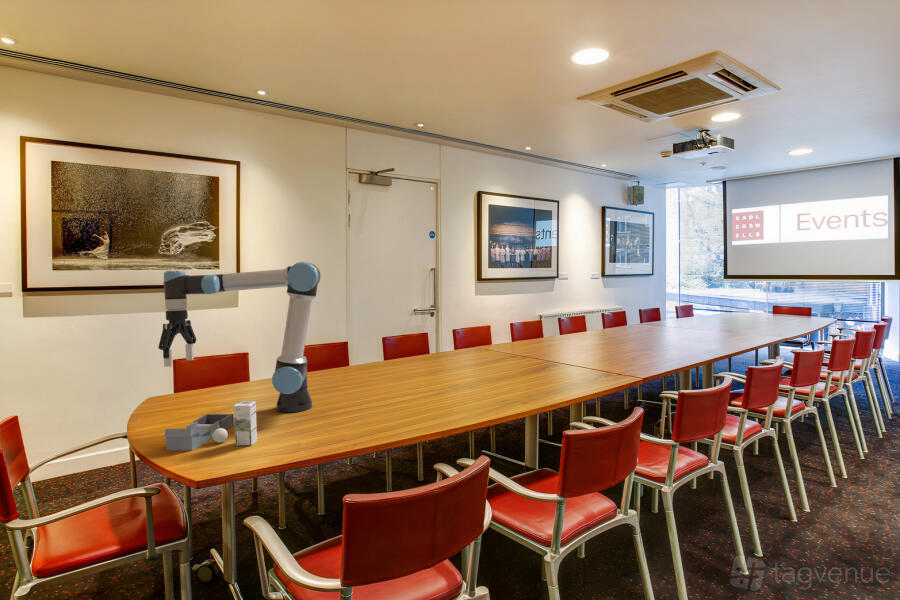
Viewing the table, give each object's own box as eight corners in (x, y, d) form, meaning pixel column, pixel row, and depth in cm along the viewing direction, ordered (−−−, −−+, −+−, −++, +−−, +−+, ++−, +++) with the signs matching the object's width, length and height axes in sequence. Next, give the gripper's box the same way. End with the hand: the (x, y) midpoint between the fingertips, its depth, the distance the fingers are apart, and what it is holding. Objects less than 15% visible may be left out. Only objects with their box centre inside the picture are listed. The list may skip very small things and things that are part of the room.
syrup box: (257, 440, 174) (256, 400, 173) (251, 446, 168) (250, 405, 167) (241, 440, 174) (240, 400, 173) (235, 446, 168) (233, 405, 167)
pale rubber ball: (230, 439, 175) (230, 426, 174) (223, 444, 170) (223, 430, 169) (217, 439, 175) (216, 426, 174) (209, 444, 170) (209, 430, 169)
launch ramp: (190, 451, 164) (189, 429, 163) (164, 451, 164) (163, 429, 163) (219, 432, 182) (218, 413, 182) (196, 432, 183) (195, 413, 182)
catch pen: (221, 432, 182) (221, 421, 182) (194, 432, 183) (193, 421, 183) (233, 425, 191) (233, 413, 191) (207, 425, 192) (206, 414, 192)
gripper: (186, 307, 204) (189, 357, 205) (145, 312, 179) (148, 369, 180) (203, 307, 203) (206, 357, 205) (164, 312, 178) (167, 369, 180)
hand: (179, 363), depth 192 cm, fingers open, 13 cm apart
